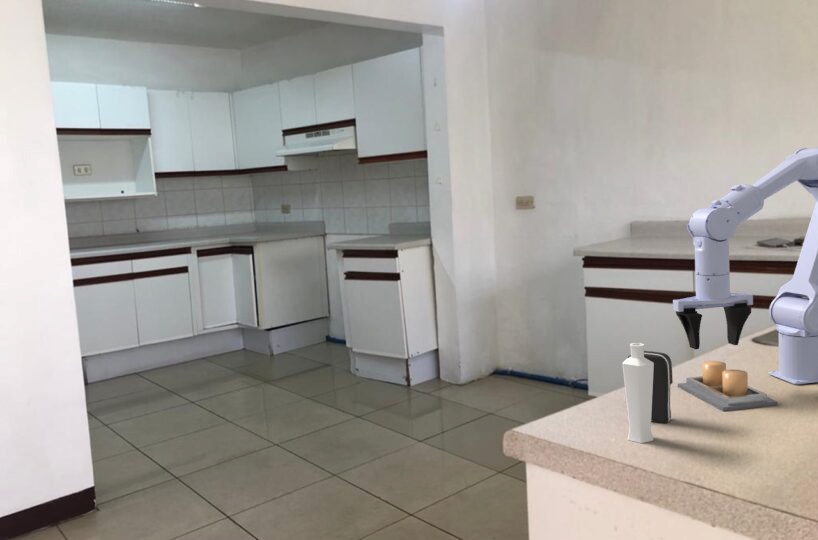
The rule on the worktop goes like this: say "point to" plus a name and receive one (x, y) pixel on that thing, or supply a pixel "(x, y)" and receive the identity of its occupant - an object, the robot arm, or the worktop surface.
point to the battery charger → (660, 385)
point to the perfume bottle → (638, 393)
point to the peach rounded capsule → (713, 373)
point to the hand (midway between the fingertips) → (713, 346)
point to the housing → (728, 392)
